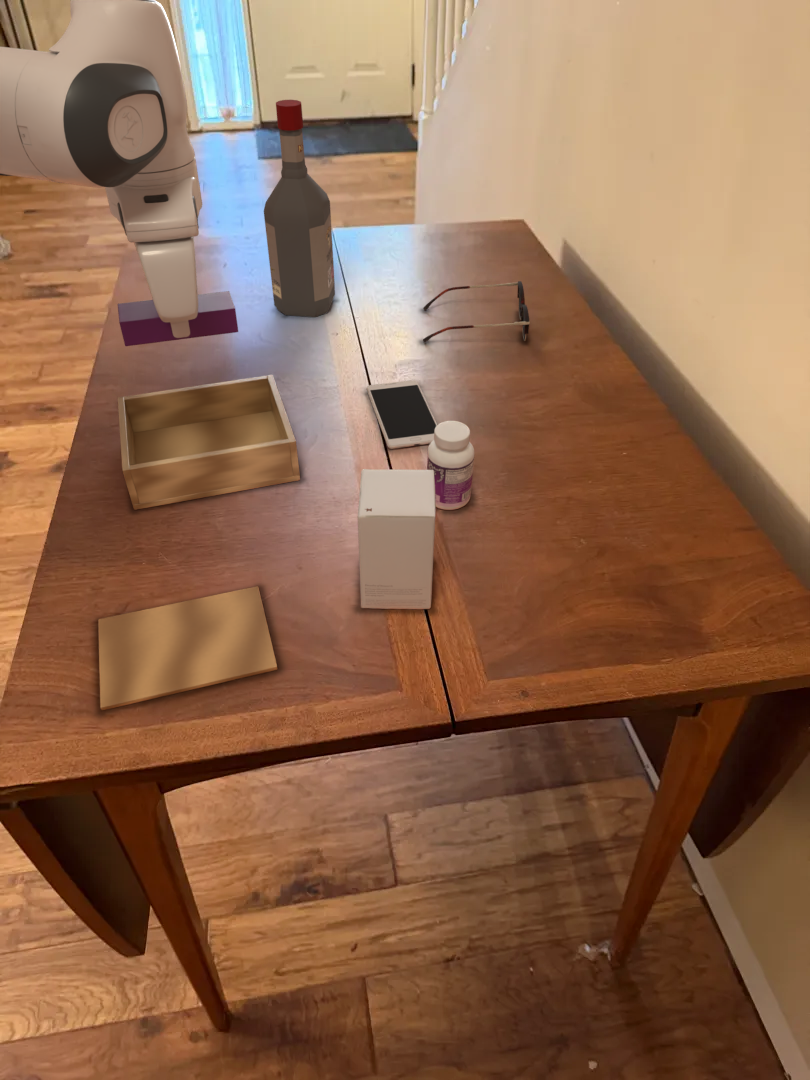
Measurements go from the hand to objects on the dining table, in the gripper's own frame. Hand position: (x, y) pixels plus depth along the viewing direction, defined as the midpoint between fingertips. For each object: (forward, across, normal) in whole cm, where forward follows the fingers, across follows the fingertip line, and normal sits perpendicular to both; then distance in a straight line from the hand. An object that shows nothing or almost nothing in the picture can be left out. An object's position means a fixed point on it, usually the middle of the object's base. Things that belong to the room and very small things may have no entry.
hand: (179, 322), depth 85 cm
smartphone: (+18, -2, +27) cm, 33 cm away
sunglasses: (+18, -23, +45) cm, 54 cm away
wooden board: (+19, +30, -6) cm, 35 cm away
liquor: (+18, -38, +21) cm, 47 cm away
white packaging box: (+19, +28, +17) cm, 37 cm away
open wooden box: (+19, 0, +1) cm, 19 cm away
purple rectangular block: (+1, 0, 0) cm, 1 cm away
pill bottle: (+19, +16, +27) cm, 36 cm away
